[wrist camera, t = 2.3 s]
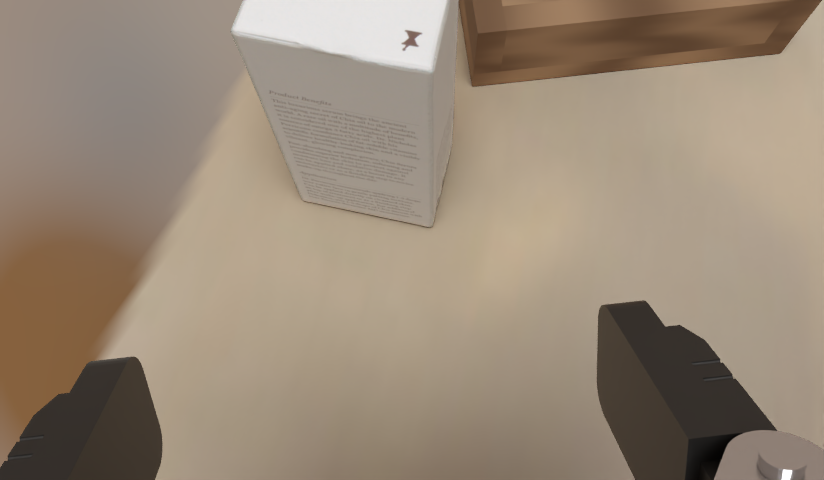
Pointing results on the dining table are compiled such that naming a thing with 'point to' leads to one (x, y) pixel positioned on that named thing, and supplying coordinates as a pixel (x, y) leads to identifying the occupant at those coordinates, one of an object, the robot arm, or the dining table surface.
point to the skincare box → (357, 97)
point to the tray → (619, 34)
